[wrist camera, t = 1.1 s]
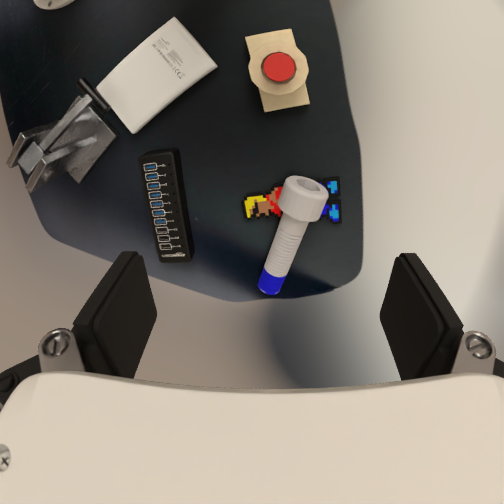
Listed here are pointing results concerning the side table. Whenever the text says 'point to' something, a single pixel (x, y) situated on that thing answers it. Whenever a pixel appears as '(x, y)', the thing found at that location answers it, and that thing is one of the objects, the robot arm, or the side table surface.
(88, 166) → the bracket
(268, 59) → the button
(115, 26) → the side table surface
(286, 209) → the bolt
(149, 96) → the hard drive
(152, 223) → the multiport hub
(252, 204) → the pixel art figurine
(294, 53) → the control block
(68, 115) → the lever
